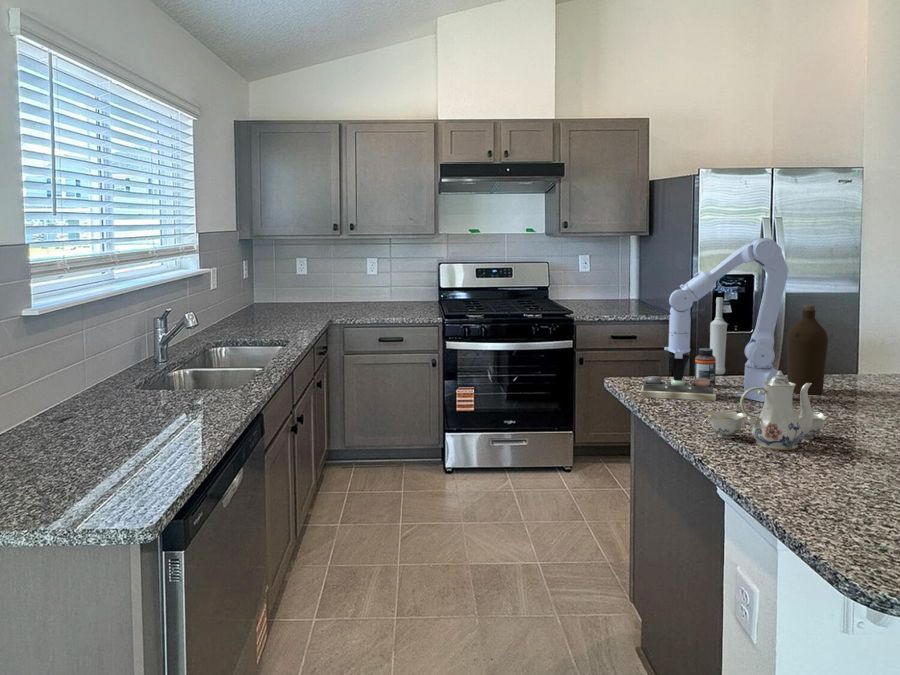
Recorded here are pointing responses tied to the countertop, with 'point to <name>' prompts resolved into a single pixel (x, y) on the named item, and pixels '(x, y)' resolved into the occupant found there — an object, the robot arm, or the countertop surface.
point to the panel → (678, 391)
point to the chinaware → (773, 417)
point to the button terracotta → (702, 382)
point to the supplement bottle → (705, 365)
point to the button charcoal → (654, 380)
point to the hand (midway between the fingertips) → (678, 380)
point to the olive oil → (807, 353)
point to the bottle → (718, 337)
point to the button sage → (678, 382)
